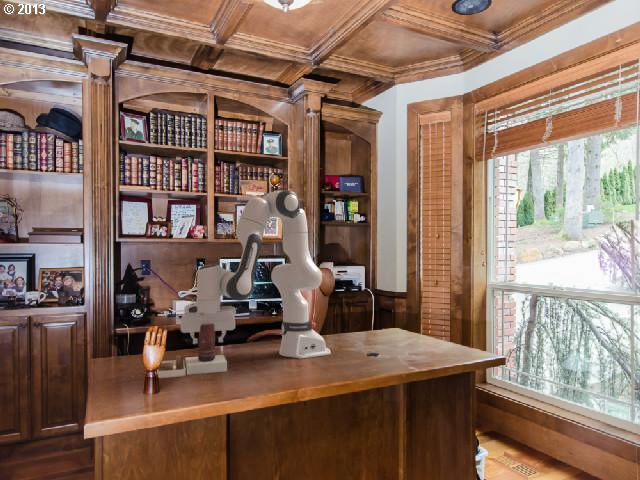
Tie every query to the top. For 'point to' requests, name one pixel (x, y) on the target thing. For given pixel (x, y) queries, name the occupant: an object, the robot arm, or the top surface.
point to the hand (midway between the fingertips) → (208, 342)
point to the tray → (172, 371)
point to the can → (206, 343)
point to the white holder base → (205, 365)
